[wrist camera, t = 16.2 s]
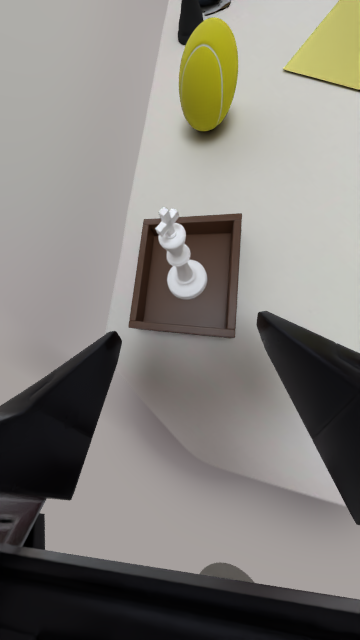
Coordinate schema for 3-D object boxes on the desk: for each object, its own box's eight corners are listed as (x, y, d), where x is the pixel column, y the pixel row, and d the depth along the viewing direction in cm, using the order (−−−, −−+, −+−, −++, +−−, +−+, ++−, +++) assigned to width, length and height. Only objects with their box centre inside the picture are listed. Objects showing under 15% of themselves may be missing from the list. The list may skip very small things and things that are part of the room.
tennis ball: (224, 146, 20) (232, 49, 14) (177, 144, 22) (164, 56, 15) (238, 104, 21) (253, -10, 14) (192, 105, 22) (185, 2, 16)
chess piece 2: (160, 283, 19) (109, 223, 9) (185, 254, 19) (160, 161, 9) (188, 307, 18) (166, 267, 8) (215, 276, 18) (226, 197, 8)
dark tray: (230, 337, 17) (235, 337, 14) (138, 329, 19) (128, 327, 17) (237, 230, 18) (242, 212, 16) (151, 233, 21) (143, 219, 18)
